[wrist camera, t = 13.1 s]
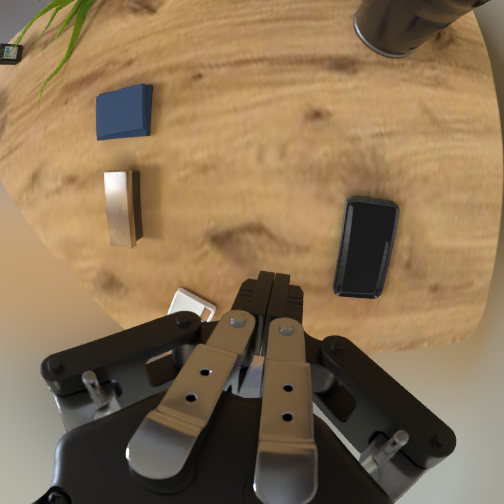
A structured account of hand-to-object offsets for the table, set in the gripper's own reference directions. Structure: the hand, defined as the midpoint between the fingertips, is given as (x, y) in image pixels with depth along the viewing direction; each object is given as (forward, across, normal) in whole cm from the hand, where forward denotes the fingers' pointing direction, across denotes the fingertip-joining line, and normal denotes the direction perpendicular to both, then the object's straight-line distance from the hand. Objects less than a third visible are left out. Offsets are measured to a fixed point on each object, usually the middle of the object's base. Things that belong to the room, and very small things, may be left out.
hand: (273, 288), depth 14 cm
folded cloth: (+25, +27, -11) cm, 38 cm away
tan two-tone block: (+25, +25, +4) cm, 36 cm away
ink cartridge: (+25, +65, -33) cm, 77 cm away
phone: (+25, -12, +7) cm, 28 cm away
